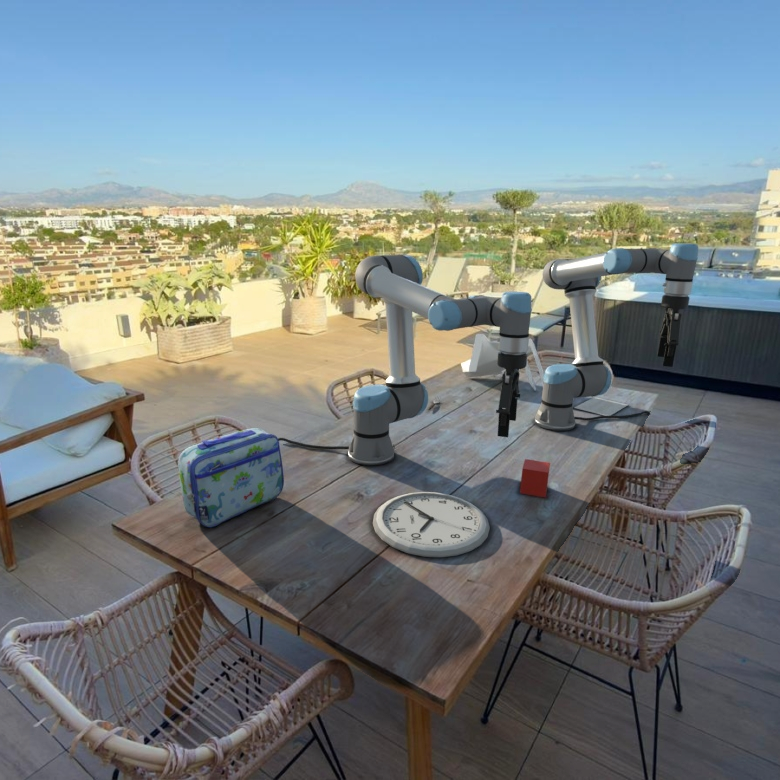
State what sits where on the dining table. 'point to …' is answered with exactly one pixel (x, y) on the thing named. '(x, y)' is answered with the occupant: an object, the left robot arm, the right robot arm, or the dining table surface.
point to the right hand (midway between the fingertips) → (664, 361)
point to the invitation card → (601, 406)
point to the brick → (534, 478)
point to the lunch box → (230, 475)
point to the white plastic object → (494, 359)
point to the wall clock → (431, 524)
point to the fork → (434, 402)
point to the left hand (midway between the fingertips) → (507, 427)
